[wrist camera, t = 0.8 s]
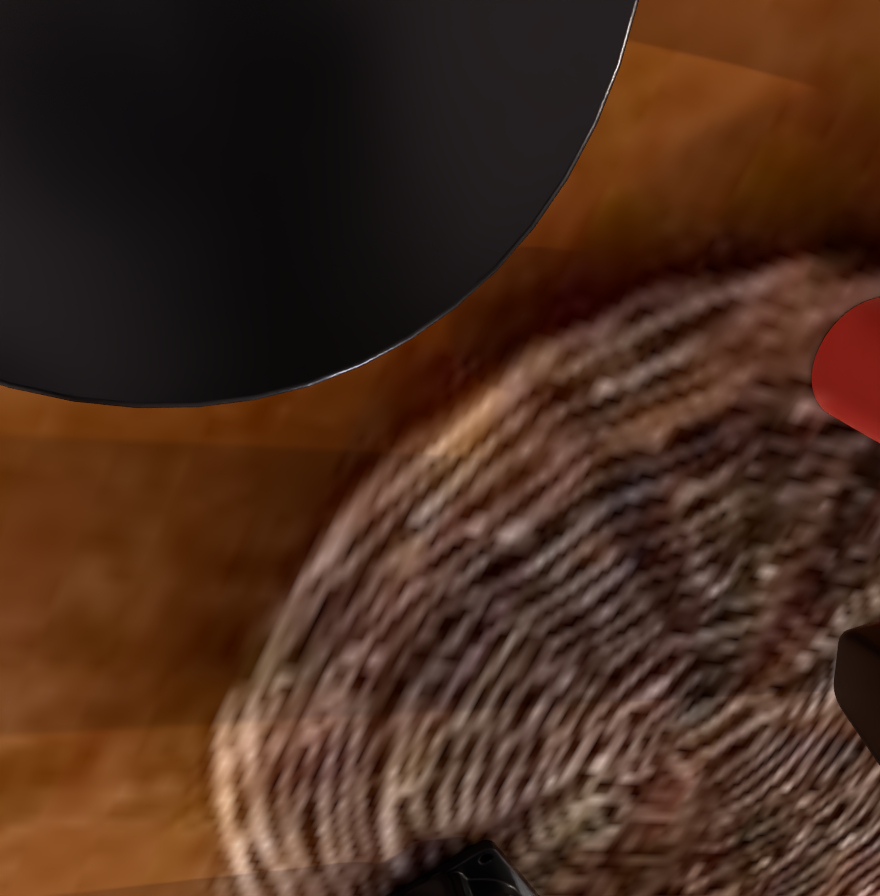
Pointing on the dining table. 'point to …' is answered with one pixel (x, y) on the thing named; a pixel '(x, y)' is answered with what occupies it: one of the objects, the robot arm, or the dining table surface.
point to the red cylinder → (851, 369)
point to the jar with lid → (271, 180)
